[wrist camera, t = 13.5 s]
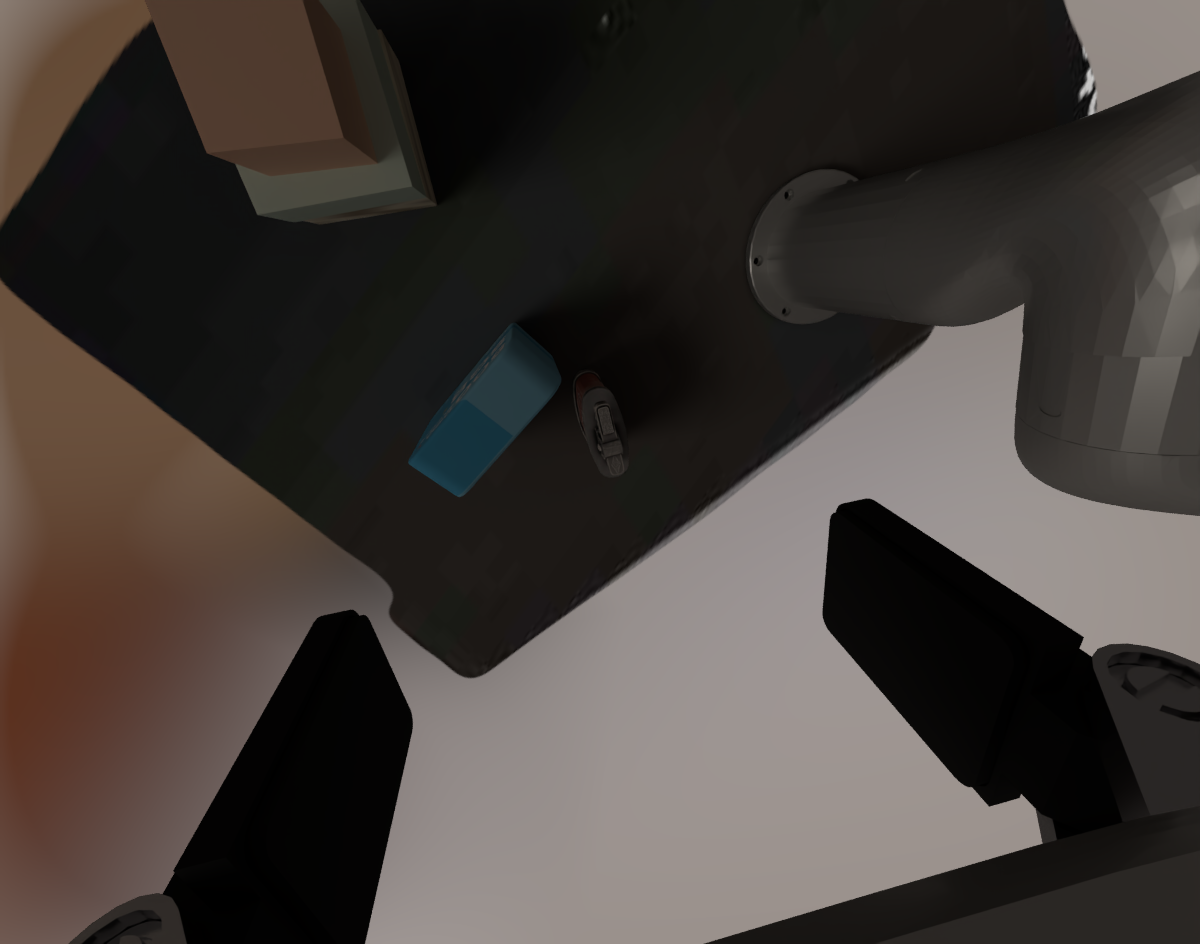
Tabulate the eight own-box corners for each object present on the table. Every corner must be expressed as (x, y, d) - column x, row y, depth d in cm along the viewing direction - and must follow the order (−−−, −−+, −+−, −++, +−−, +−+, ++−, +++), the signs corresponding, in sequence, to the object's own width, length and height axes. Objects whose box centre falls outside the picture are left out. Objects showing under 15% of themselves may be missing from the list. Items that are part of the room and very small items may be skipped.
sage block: (377, 30, 28) (351, -15, 24) (426, 197, 32) (412, 186, 28) (225, 54, 28) (169, 12, 23) (294, 222, 32) (257, 214, 27)
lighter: (618, 442, 47) (642, 483, 38) (586, 451, 47) (602, 495, 38) (600, 365, 44) (622, 390, 35) (565, 374, 44) (579, 402, 35)
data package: (513, 319, 41) (513, 338, 30) (552, 353, 43) (565, 383, 32) (430, 418, 43) (402, 469, 32) (470, 448, 45) (456, 505, 34)
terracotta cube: (340, 29, 25) (291, -37, 19) (377, 163, 27) (343, 138, 22) (220, 40, 24) (134, -26, 19) (269, 176, 26) (207, 153, 21)
